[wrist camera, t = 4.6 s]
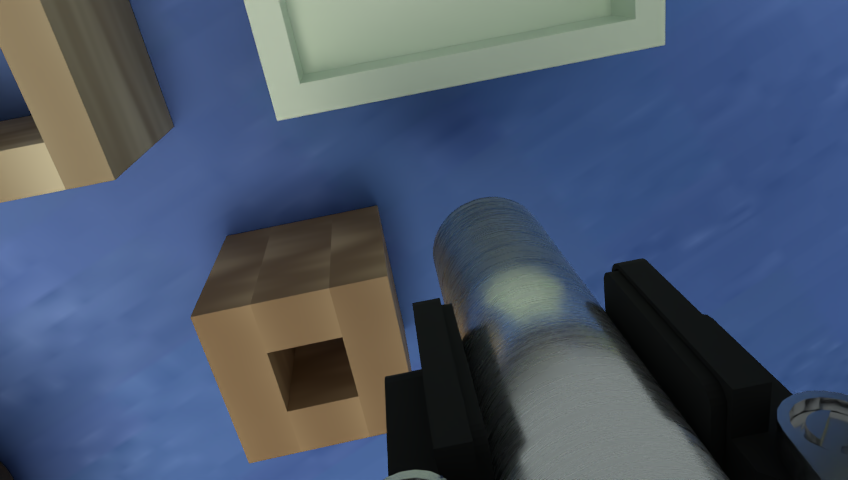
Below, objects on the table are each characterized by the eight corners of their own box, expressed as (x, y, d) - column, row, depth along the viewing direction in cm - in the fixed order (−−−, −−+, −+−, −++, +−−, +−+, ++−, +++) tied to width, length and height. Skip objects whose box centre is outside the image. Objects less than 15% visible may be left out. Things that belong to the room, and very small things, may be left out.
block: (377, 205, 23) (387, 275, 18) (404, 330, 26) (420, 425, 20) (226, 236, 23) (190, 316, 18) (269, 359, 26) (249, 463, 20)
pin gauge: (538, 187, 15) (796, 482, 6) (548, 287, 16) (776, 663, 7) (424, 209, 15) (510, 540, 6) (442, 308, 16) (536, 712, 7)
